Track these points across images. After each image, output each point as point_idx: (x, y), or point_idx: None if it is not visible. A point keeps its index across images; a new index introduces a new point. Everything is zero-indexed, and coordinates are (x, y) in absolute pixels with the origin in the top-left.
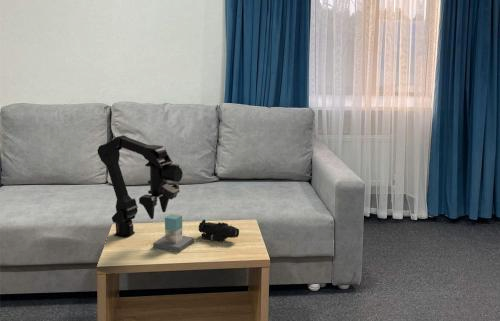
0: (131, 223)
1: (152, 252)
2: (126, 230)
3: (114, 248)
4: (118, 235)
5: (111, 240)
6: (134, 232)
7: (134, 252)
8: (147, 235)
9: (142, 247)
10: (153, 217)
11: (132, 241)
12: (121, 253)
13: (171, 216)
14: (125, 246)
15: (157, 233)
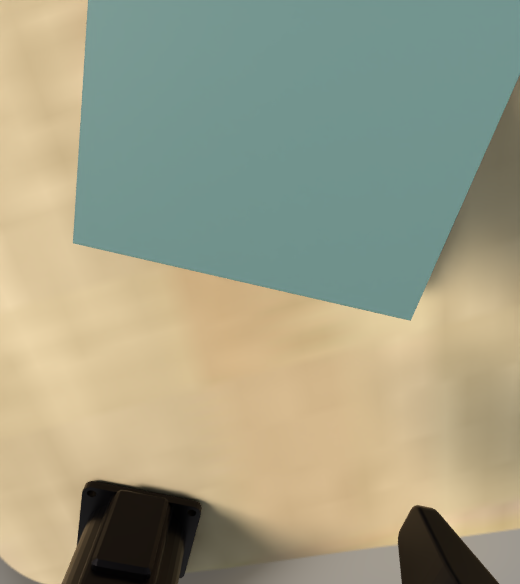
0: (98, 576)
1: (504, 240)
2: (163, 550)
3: None
4: (189, 552)
5: (267, 559)
6: (95, 485)
7: (496, 379)
8: (103, 389)
9: (381, 353)
10: (432, 525)
11: (260, 450)
12: (513, 453)
13: (294, 168)
14: (369, 465)
15: (26, 328)
